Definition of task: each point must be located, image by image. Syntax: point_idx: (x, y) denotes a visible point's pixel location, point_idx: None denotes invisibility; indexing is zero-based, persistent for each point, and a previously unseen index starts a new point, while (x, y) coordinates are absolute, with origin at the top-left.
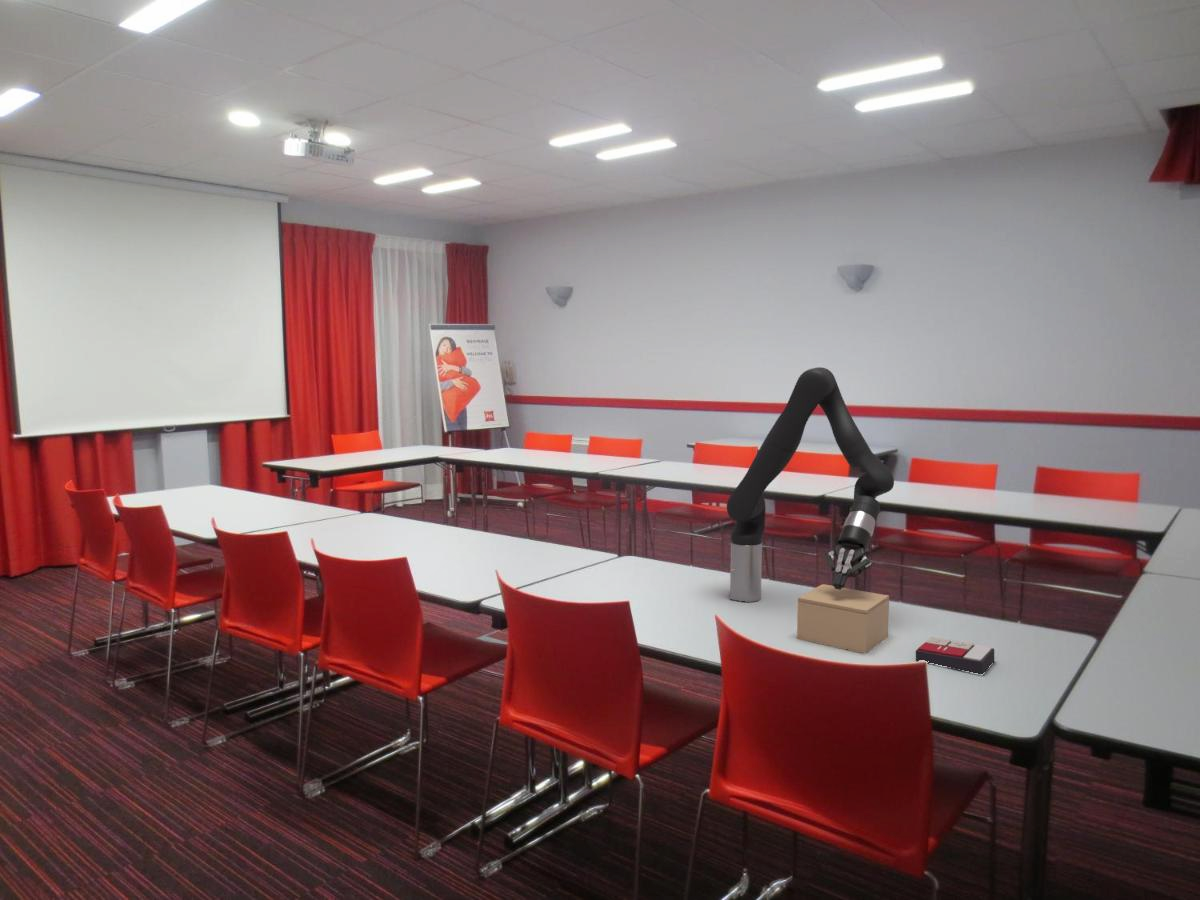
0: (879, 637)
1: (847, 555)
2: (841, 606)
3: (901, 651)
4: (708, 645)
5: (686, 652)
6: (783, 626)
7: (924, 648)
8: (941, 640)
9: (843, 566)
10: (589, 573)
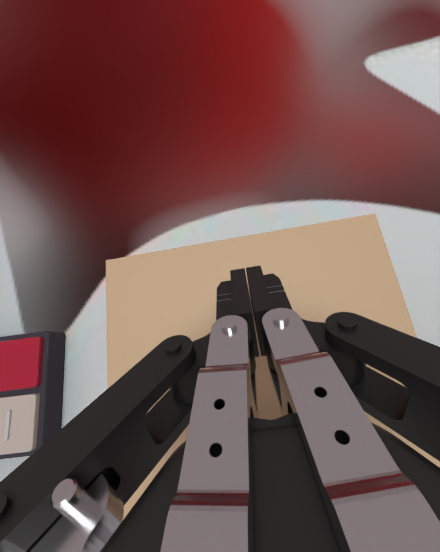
0: None
1: (282, 527)
2: (196, 245)
3: (106, 367)
4: (422, 101)
5: (416, 53)
6: (418, 319)
7: (26, 343)
8: (1, 434)
9: (284, 410)
10: None
